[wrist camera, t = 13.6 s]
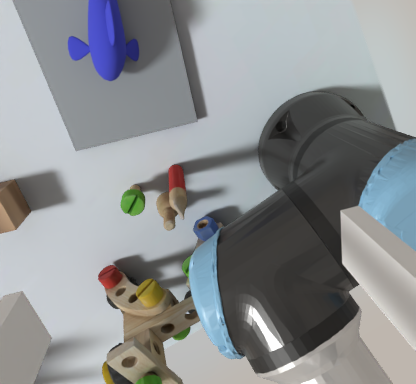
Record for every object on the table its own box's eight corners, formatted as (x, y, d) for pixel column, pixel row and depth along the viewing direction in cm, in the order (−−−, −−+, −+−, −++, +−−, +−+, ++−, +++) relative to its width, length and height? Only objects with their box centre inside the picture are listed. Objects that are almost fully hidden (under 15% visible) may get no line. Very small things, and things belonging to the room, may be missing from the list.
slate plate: (154, -68, 32) (153, -72, 31) (196, 119, 41) (197, 121, 40) (2, -34, 32) (-3, -37, 31) (78, 148, 41) (76, 151, 40)
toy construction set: (81, 169, 42) (16, 265, 24) (242, 158, 45) (299, 237, 26) (111, 315, 54) (84, 457, 35) (239, 300, 56) (277, 426, 37)
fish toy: (137, 78, 38) (155, 84, 33) (71, 79, 35) (78, 86, 30) (127, -77, 32) (147, -101, 26) (45, -93, 29) (49, -124, 23)
